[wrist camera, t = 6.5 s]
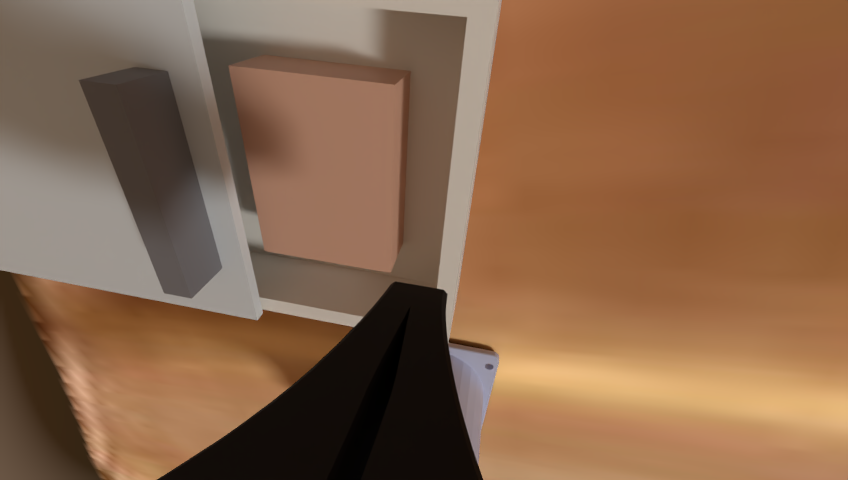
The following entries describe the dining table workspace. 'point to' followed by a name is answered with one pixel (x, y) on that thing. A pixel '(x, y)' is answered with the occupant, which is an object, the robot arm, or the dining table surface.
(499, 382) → the dining table surface
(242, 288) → the lid
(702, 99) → the dining table surface
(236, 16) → the box
